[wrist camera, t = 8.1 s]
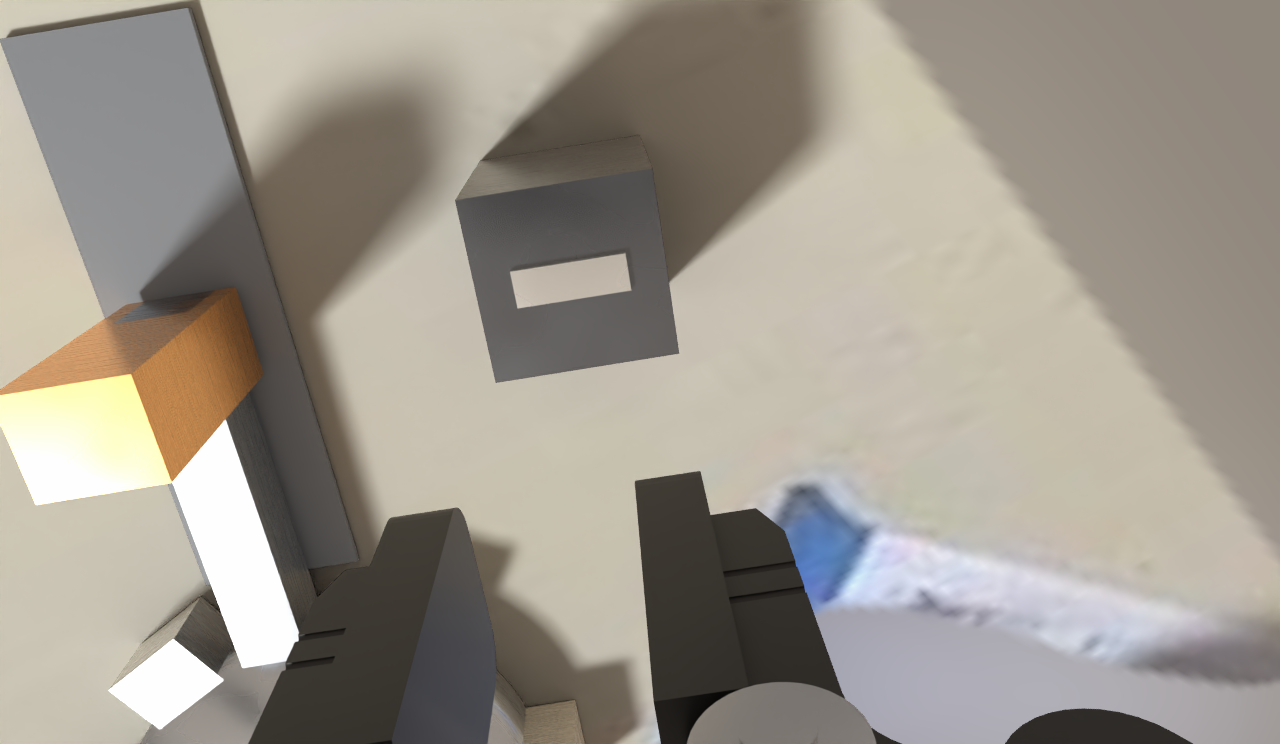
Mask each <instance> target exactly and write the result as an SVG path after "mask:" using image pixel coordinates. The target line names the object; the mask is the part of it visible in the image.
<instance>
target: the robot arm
mask: <svg viewBox="0 0 1280 744" xmlns="http://www.w3.org/2000/svg"><path fill="white" fill-rule="evenodd" d="M635 490H636V501H637V513H638V524H639V536H640V547H641V559H642V571H643V582H644V594H645V605H646V617H647V629H648V640H649V652H650V663H651V675H652V686H653V698H654V705H655V711H656V717H657V723H658V728H659V734H660V740H661V744H901V743H898V742H896V741H893V740H891V739H889V738H888V737H886V736H884V735H882V734H880V733H878V732H877V731H875V730H874V729H873V728H871V726H870V725H869V723H868V722H867V720H866V719H865V717H864V716H863V714H861V712H860V711H859V710H858V709H857V708H856V707H855V706H854V705H852V704H851V703H850V702H848V701H847V700H845V698H844V695H843V694H842V691H841V688H840V686H839V683H838V681H837V677H836V675H835V672H834V669H833V666H832V663H831V660H830V658H829V655H828V652H827V649H826V646H825V643H824V641H823V638H822V635H821V632H820V630H819V627H818V625H817V621H816V618H815V615H814V612H813V610H812V607H811V604H810V601H809V598H808V596H807V593H805V589H804V584H803V582H802V579H801V576H800V573H799V570H798V568H797V567H796V564H795V559H794V556H793V554H792V551H791V548H790V545H789V542H788V539H787V537H786V534H785V531H784V530H783V529H781V528H780V527H779V526H778V525H776V524H775V523H774V522H773V521H771V520H770V519H769V518H768V517H766V516H765V515H764V514H762V513H761V512H760V511H759V510H757V509H756V508H755V509H748V510H742V511H735V512H728V513H722V514H715V515H710V512H709V507H708V503H707V498H706V494H705V490H704V485H703V481H702V476H701V472H700V471H697V472H691V473H684V474H677V475H671V476H664V477H658V478H651V479H644V480H638V481H635ZM298 638H299V641H298V642H295V643H294V645H293V647H292V649H291V651H290V654H289V656H288V658H287V660H286V662H285V666H286V669H285V670H284V671H281V673H280V675H279V678H278V680H277V682H276V684H275V686H274V689H273V691H272V693H271V695H270V697H269V700H268V702H267V704H266V706H265V708H264V710H263V713H262V715H261V717H260V719H259V721H258V724H257V726H256V728H255V730H254V732H253V734H252V737H251V739H250V741H249V743H248V744H488V737H489V730H490V722H491V715H492V708H493V701H494V694H495V687H496V652H495V643H494V636H493V630H492V626H491V621H490V617H489V613H488V609H487V605H486V601H485V597H484V592H483V588H482V584H481V580H480V576H479V572H478V568H477V564H476V560H475V556H474V551H473V547H472V543H471V539H470V535H469V531H468V527H467V524H466V521H465V518H464V516H463V513H462V512H461V510H460V509H459V508H452V509H445V510H438V511H432V512H425V513H419V514H412V515H405V516H399V517H392V518H390V519H389V520H388V522H387V524H386V526H385V529H384V532H383V534H382V537H381V539H380V542H379V545H378V547H377V550H376V552H375V555H374V557H373V560H372V563H371V565H370V566H369V567H363V568H356V569H349V570H345V571H344V572H343V573H342V574H341V575H340V576H339V577H338V578H337V579H336V580H335V581H334V582H333V583H332V584H331V585H330V586H329V587H328V588H327V589H326V590H325V591H324V592H323V593H322V594H321V595H320V596H319V597H318V598H317V599H315V600H314V601H313V603H312V606H311V608H310V610H309V612H308V614H307V617H306V619H305V621H304V623H303V625H302V627H301V630H300V632H299V634H298ZM1005 744H1193V743H1191V742H1189V741H1187V740H1185V739H1184V738H1182V737H1180V736H1178V735H1177V734H1175V733H1173V732H1171V731H1169V730H1167V729H1165V728H1163V727H1161V726H1159V725H1157V724H1155V723H1152V722H1149V721H1147V720H1144V719H1141V718H1139V717H1135V716H1131V715H1127V714H1124V713H1120V712H1113V711H1107V710H1101V709H1070V710H1062V711H1057V712H1052V713H1048V714H1045V715H1042V716H1039V717H1037V718H1034V719H1032V720H1031V721H1029V722H1027V723H1025V724H1024V725H1022V726H1021V727H1020V728H1018V729H1017V730H1016V731H1015V732H1014V733H1013V734H1012V735H1011V736H1010V738H1009V739H1008V740H1007V742H1006V743H1005Z"/></svg>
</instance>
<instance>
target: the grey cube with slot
mask: <svg viewBox="0 0 1280 744" xmlns="http://www.w3.org/2000/svg"><path fill="white" fill-rule="evenodd" d="M455 202H456V206H457V211H458V215H459V220H460V224H461V229H462V233H463V238H464V242H465V247H466V251H467V256H468V260H469V265H470V269H471V274H472V278H473V283H474V287H475V292H476V296H477V300H478V305H479V309H480V314H481V318H482V323H483V327H484V332H485V336H486V341H487V345H488V350H489V354H490V359H491V363H492V368H493V372H494V377H495V381H496V383H497V382H504V381H510V380H516V379H522V378H529V377H535V376H541V375H548V374H554V373H560V372H566V371H573V370H579V369H585V368H591V367H598V366H604V365H610V364H616V363H623V362H629V361H635V360H641V359H648V358H654V357H660V356H667V355H673V354H679V349H678V342H677V335H676V328H675V321H674V314H673V308H672V301H671V294H670V287H669V280H668V273H667V266H666V259H665V252H664V245H663V238H662V232H661V225H660V218H659V211H658V204H657V197H656V190H655V183H654V176H653V169H652V166H651V164H650V161H649V158H648V156H647V153H646V150H645V148H644V145H643V143H642V140H641V137H640V135H637V136H630V137H624V138H618V139H612V140H606V141H599V142H593V143H587V144H581V145H574V146H568V147H562V148H556V149H550V150H543V151H537V152H531V153H525V154H519V155H512V156H506V157H500V158H494V159H487V160H481V161H480V162H479V164H478V165H477V167H476V168H475V170H474V171H473V173H472V175H471V176H470V178H469V179H468V181H467V182H466V184H465V186H464V187H463V189H462V190H461V192H460V193H459V195H458V197H457V198H456V200H455Z"/></svg>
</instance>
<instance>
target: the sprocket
mask: <svg viewBox="0 0 1280 744" xmlns="http://www.w3.org/2000/svg"><path fill="white" fill-rule="evenodd" d="M285 662H286V661H285ZM285 662H279V663H272V664H266V665H260V666H254V667H247V668H242V666H241V663H240V660H239V658H238V655H237V652H236V650H235V647H234V645H233V642H232V639H231V637H230V634H229V631H228V629H227V626H226V623H225V621H224V618H223V615H222V614H221V613H220V612H219V611H218V610H216V609H215V608H214V607H213V606H212V605H210V604H209V603H208V602H207V601H206V600H204V599H203V598H202V597H200V598H198V599H197V600H196V601H195V602H193V603H192V604H191V605H190V606H188V607H187V608H186V609H185V610H183V611H182V612H181V613H180V614H178V615H177V616H176V617H175V618H173V619H172V620H171V621H170V622H168V623H167V624H166V625H165V626H163V627H162V628H161V629H160V630H158V631H157V632H156V633H155V634H153V635H152V636H151V637H150V638H148V639H147V640H146V641H145V642H143V643H142V644H141V645H140V646H139V647H138V649H137V650H136V652H135V653H134V655H133V656H132V657H131V659H130V660H129V662H128V663H127V665H126V666H125V668H124V669H123V671H122V672H121V674H120V675H119V676H118V678H117V679H116V681H115V682H114V684H113V685H112V687H111V688H110V690H109V691H110V692H111V693H113V694H114V695H115V696H117V697H118V698H119V699H120V700H122V701H123V702H124V703H126V704H127V705H128V706H130V707H131V708H132V709H133V710H135V711H136V712H137V713H139V714H140V715H141V716H143V717H144V718H145V719H147V720H148V721H149V722H150V723H152V725H151V726H150V728H149V730H148V731H147V733H146V735H145V737H144V738H143V740H142V742H141V744H248V743H249V741H250V739H251V737H252V734H253V732H254V730H255V728H256V726H257V724H258V721H259V719H260V717H261V715H262V713H263V710H264V708H265V706H266V704H267V702H268V700H269V697H270V695H271V693H272V691H273V689H274V686H275V684H276V682H277V680H278V678H279V675H280V673H281V671H284V670H285V669H286V666H285ZM488 744H585V742H584V737H583V733H582V728H581V724H580V719H579V715H578V710H577V706H576V702H575V700H572V701H566V702H559V703H553V704H547V705H540V706H534V707H528V708H526V707H525V705H524V703H523V701H522V700H521V699H520V697H519V696H518V694H517V693H516V692H515V690H514V689H513V687H512V686H511V685H510V683H509V682H508V681H507V680H506V679H505V678H504V677H503V676H502V675H501V674H500V673H499V672H498V671H497V670H496V687H495V694H494V701H493V708H492V715H491V722H490V730H489V737H488Z"/></svg>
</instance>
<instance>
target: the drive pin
mask: <svg viewBox="0 0 1280 744" xmlns="http://www.w3.org/2000/svg"><path fill="white" fill-rule="evenodd" d="M263 375H264V373H263V370H262V367H261V364H260V361H259V358H258V355H257V352H256V348H255V345H254V342H253V339H252V336H251V333H250V330H249V327H248V324H247V320H246V317H245V314H244V311H243V308H242V305H241V302H240V299H239V296H238V293H237V289H236V287H230V288H224V289H218V290H212V291H206V292H199V293H193V294H187V295H181V296H175V297H169V298H163V299H157V300H150V301H144V302H138V303H132V304H126V305H125V306H123V307H122V308H120V309H119V310H117V311H116V312H114V313H113V314H111V315H110V316H108V317H107V318H105V319H104V320H102V321H101V322H99V323H98V324H96V325H95V326H93V327H92V328H91V329H89V330H88V331H86V332H85V333H83V334H82V335H80V336H79V337H77V338H76V339H74V340H73V341H71V342H70V343H68V344H67V345H65V346H64V347H62V348H61V349H59V350H58V351H57V352H55V353H54V354H52V355H51V356H49V357H48V358H46V359H45V360H43V361H42V362H40V363H39V364H37V365H36V366H34V367H33V368H31V369H30V370H28V371H27V372H25V373H24V374H23V375H21V376H20V377H18V378H17V379H15V380H14V381H12V382H11V383H9V384H8V385H6V386H5V387H3V388H2V389H0V424H1V426H2V429H3V431H4V433H5V435H6V438H7V440H8V442H9V444H10V447H11V449H12V451H13V454H14V456H15V458H16V460H17V463H18V465H19V467H20V470H21V472H22V474H23V476H24V479H25V481H26V483H27V485H28V488H29V490H30V492H31V495H32V497H33V499H34V501H35V504H36V505H38V504H44V503H50V502H57V501H63V500H69V499H75V498H81V497H87V496H94V495H100V494H106V493H112V492H118V491H125V490H131V489H137V488H143V487H149V486H155V485H162V484H168V483H172V482H173V485H174V488H175V490H176V493H177V496H178V498H179V501H180V504H181V506H182V509H183V512H184V514H185V517H186V520H187V522H188V525H189V528H190V530H191V533H192V536H193V538H194V541H195V544H196V546H197V549H198V552H199V554H200V557H201V559H202V562H203V565H204V567H205V570H206V573H207V575H208V578H209V581H210V583H211V586H212V589H213V591H214V594H215V597H216V599H217V602H218V605H219V607H220V610H221V613H222V615H223V618H224V621H225V623H226V626H227V629H228V631H229V634H230V637H231V639H232V642H233V645H234V647H235V650H236V652H237V655H238V658H239V660H240V663H241V666H242V668H247V667H254V666H260V665H266V664H272V663H279V662H285V661H286V660H287V658H288V656H289V654H290V651H291V649H292V647H293V645H294V643H295V642H298V641H299V638H298V634H299V632H300V630H301V627H302V625H303V623H304V621H305V619H306V617H307V614H308V612H309V610H310V608H311V606H312V603H313V601H314V600H315V599H317V598H318V597H317V594H316V591H315V588H314V585H313V582H312V579H311V576H310V573H309V570H308V567H307V564H306V561H305V558H304V555H303V552H302V549H301V546H300V543H299V540H298V537H297V534H296V531H295V528H294V525H293V522H292V519H291V516H290V513H289V509H288V506H287V503H286V500H285V497H284V494H283V491H282V488H281V485H280V482H279V479H278V476H277V473H276V470H275V467H274V464H273V461H272V458H271V455H270V452H269V449H268V446H267V443H266V440H265V437H264V434H263V431H262V428H261V425H260V422H259V419H258V416H257V413H256V409H255V406H254V403H253V400H252V397H251V394H250V390H251V389H252V388H253V386H254V385H255V384H256V383H257V382H258V380H259V379H260V378H261V377H262V376H263Z"/></svg>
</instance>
